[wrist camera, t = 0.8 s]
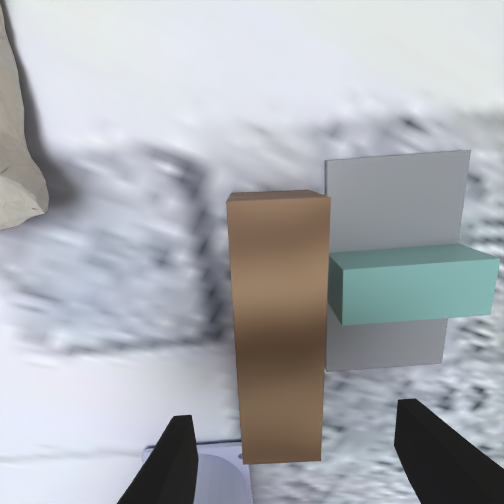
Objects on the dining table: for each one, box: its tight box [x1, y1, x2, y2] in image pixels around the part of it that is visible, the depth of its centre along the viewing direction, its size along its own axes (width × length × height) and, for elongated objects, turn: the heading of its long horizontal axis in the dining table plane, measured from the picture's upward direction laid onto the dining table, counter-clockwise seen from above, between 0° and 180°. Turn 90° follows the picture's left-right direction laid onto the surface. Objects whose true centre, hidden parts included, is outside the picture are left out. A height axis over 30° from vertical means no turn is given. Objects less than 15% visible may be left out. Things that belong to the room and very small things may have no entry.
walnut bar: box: [226, 190, 331, 465], centre depth 17 cm, size 15×4×5 cm, turn 2°
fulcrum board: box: [325, 150, 500, 372], centre depth 17 cm, size 14×8×4 cm, turn 4°
